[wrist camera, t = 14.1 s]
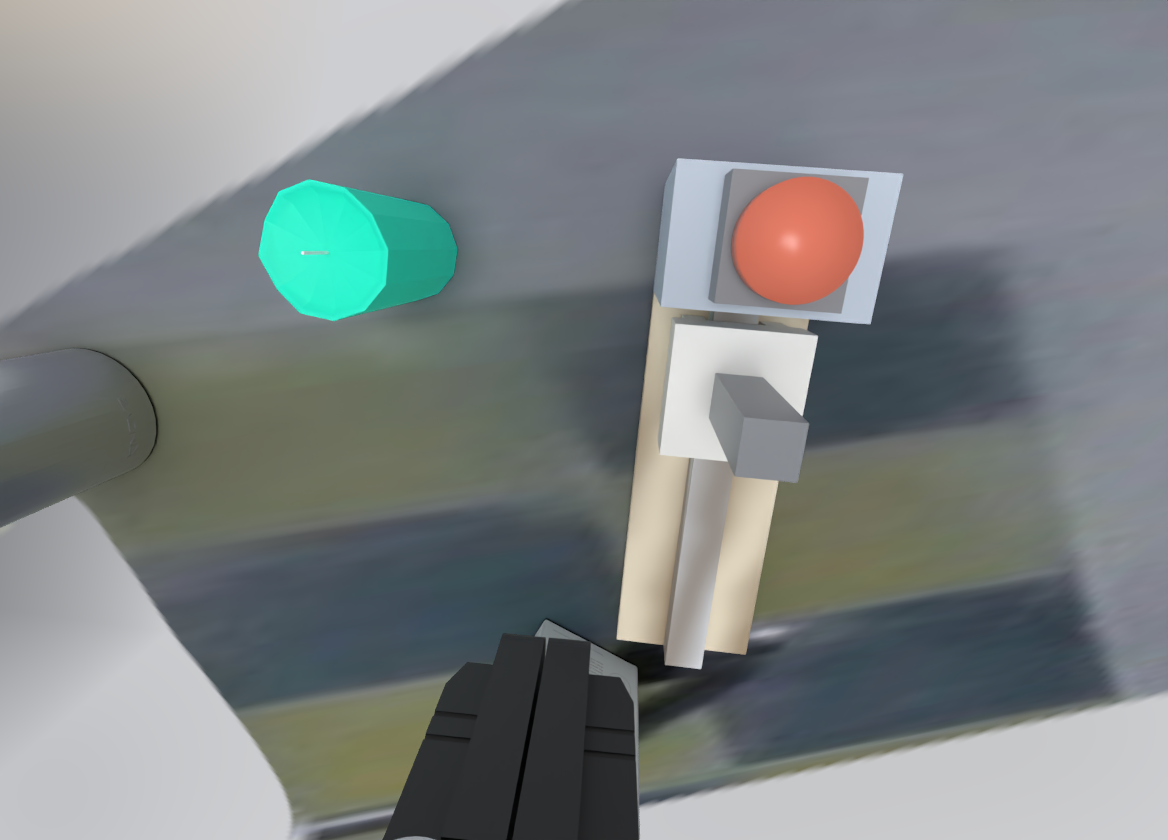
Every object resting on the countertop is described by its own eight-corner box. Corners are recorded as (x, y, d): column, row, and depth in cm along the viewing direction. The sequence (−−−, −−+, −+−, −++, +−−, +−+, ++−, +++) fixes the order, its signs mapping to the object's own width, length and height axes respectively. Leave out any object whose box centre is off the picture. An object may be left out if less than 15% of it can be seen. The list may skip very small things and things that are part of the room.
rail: (617, 625, 42) (615, 658, 38) (653, 290, 35) (655, 295, 31) (741, 640, 41) (751, 675, 38) (804, 302, 34) (822, 309, 31)
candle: (419, 178, 34) (310, 143, 22) (476, 267, 35) (401, 276, 24) (343, 235, 35) (204, 229, 24) (401, 318, 36) (295, 351, 25)
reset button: (716, 292, 25) (729, 299, 21) (731, 182, 23) (747, 172, 20) (820, 301, 24) (849, 309, 21) (842, 190, 23) (876, 181, 20)
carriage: (656, 428, 35) (667, 523, 23) (669, 313, 33) (690, 351, 21) (772, 439, 35) (846, 542, 23) (792, 323, 33) (886, 368, 20)
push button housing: (653, 290, 35) (662, 311, 23) (664, 184, 33) (681, 150, 21) (804, 302, 34) (890, 330, 23) (824, 195, 32) (928, 166, 21)
